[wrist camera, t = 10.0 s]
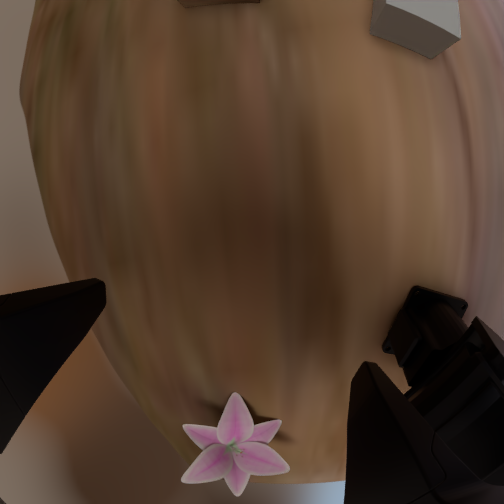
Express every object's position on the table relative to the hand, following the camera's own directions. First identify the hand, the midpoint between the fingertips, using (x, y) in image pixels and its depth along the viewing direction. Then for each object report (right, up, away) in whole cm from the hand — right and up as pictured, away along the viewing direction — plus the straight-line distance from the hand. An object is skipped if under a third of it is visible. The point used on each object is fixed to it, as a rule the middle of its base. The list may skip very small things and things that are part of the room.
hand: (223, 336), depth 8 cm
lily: (0, -17, +19) cm, 26 cm away
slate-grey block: (+12, +20, +4) cm, 23 cm away
